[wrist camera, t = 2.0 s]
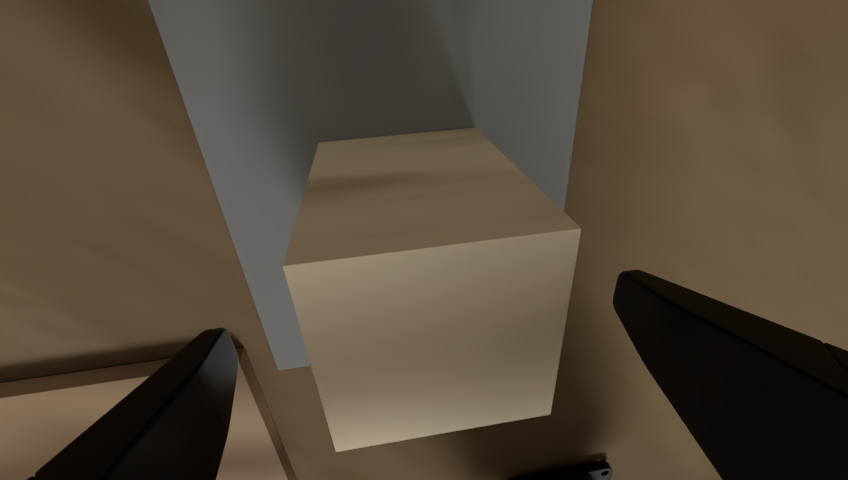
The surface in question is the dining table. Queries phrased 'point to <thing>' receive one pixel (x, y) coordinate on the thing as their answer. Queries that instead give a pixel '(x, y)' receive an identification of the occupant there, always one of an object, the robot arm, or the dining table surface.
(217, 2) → the slate gray tile
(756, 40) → the dining table surface
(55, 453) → the walnut board
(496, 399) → the maple block
